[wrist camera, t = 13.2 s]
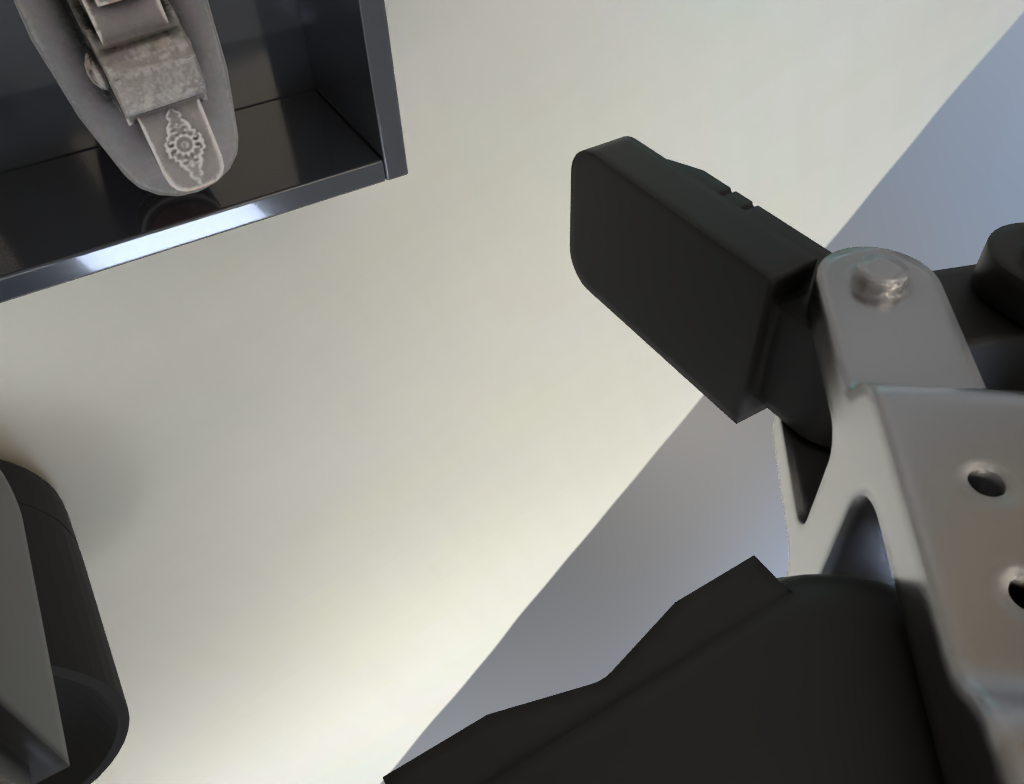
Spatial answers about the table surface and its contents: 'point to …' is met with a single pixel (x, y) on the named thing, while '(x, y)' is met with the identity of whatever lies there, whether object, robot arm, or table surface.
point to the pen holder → (71, 633)
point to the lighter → (143, 84)
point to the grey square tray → (261, 141)
